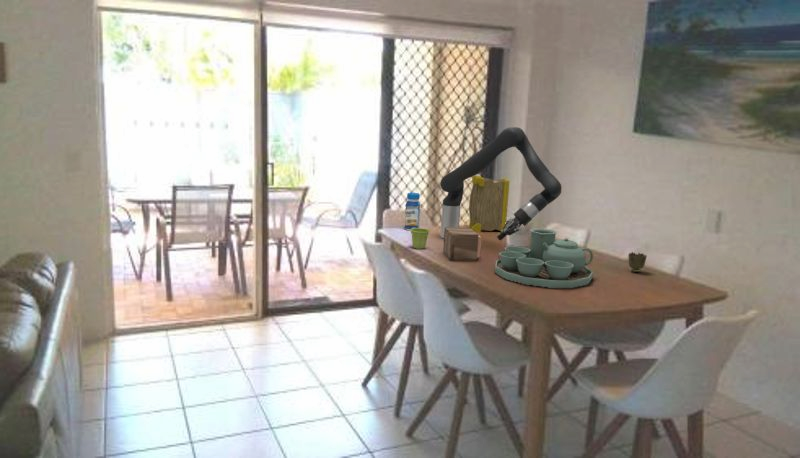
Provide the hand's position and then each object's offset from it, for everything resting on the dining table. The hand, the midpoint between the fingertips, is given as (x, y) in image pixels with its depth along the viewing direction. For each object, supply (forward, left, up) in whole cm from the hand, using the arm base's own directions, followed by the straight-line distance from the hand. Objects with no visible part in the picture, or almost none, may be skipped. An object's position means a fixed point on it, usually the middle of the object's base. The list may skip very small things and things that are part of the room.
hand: (498, 238), depth 283 cm
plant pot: (-17, -34, -9) cm, 39 cm away
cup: (+24, +55, -9) cm, 61 cm away
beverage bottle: (-61, -31, -9) cm, 69 cm away
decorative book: (-62, +12, -9) cm, 64 cm away
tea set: (+30, +11, -9) cm, 34 cm away
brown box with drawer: (0, -18, -8) cm, 20 cm away
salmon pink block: (0, -15, -7) cm, 16 cm away
